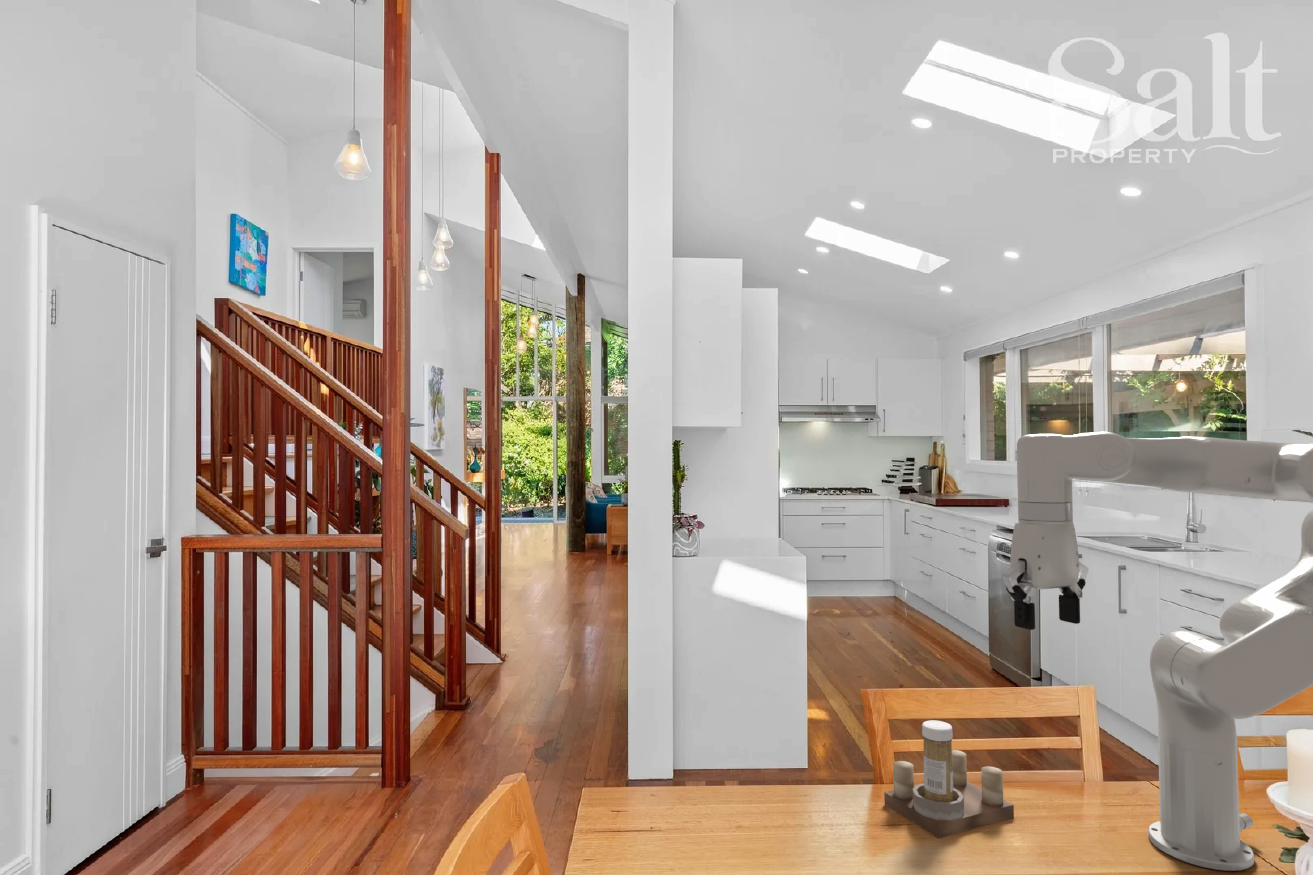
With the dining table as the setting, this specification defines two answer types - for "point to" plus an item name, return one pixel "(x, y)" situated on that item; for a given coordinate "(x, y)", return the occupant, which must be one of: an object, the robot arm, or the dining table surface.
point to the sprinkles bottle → (938, 761)
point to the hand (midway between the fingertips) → (1047, 624)
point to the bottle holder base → (950, 817)
